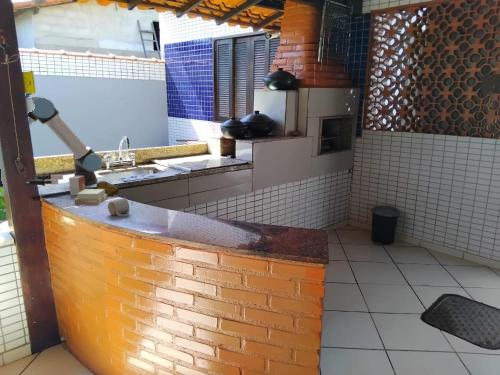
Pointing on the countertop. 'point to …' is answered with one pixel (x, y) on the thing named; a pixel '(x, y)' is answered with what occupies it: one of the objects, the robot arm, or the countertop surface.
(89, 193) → the sage top slab
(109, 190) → the potato
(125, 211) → the ceramic mug
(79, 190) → the small box
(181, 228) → the countertop surface
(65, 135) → the robot arm
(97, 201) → the birch base slab
